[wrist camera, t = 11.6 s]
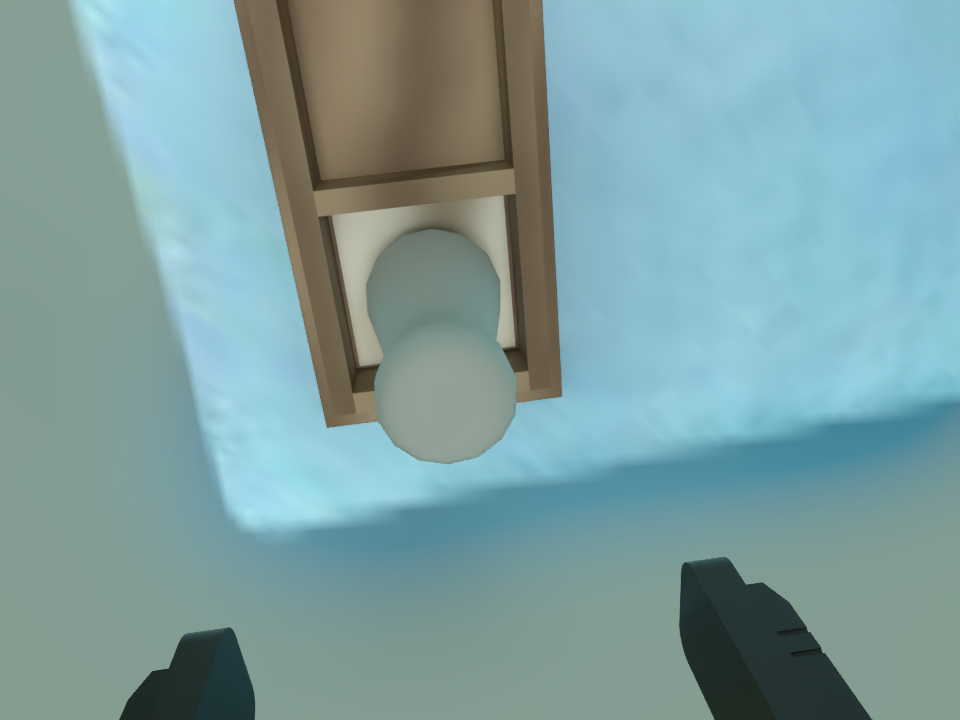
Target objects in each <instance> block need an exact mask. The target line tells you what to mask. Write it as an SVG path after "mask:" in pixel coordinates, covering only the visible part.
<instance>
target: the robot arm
mask: <svg viewBox="0 0 960 720" xmlns="http://www.w3.org/2000/svg"><path fill="white" fill-rule="evenodd" d="M680 594H681V595H680V620H679V622H680V623H679V628H680V636H681V641H682V646H683V649H684V653H685V656H686V659H687V661H688V664H689V666H690V668H691V670H692V672H693V674H694V676H695V679H696V681H697V683H698V685H699V687H700V689H701V691H702V694H703V696H704V698H705V700H706V702H707V704H708V706H709V709H710V711H711V713H712V715H713V717H714V719H715V720H872V719H871V718H870V716H869V715H868V713H867V712H866V711H865V709H864V708H863V706H862V705H861V704H860V702H859V701H858V699H857V698H856V696H855V695H854V694H853V692H852V691H851V689H850V688H849V686H848V685H847V684H846V682H845V681H844V679H843V678H842V677H841V675H840V674H839V672H838V671H837V669H836V668H835V667H834V666H833V664H832V662H831V661H830V660H829V658H828V657H827V655H826V654H825V653H822V650H821V647H820V645H819V644H818V643H817V641H816V640H815V638H814V637H813V635H812V634H811V633H810V632H808V631H807V627H806V626H805V624H804V623H803V621H802V620H801V619H800V617H799V616H798V614H797V613H796V612H795V610H794V609H793V607H792V606H791V604H790V603H789V602H788V601H787V600H785V599H784V598H782V597H781V596H780V595H779V594H777V593H776V592H775V591H773V590H772V589H770V588H769V587H768V586H766V585H765V584H764V583H755V584H748V585H746V584H745V583H744V581H743V580H742V578H741V576H740V575H739V573H738V572H737V570H736V569H735V567H734V566H733V564H732V563H731V562H730V561H729V559H728V558H726V557H720V558H713V559H706V560H699V561H692V562H685V563H684V564H683V565H682V569H681V593H680ZM119 720H255V697H254V691H253V687H252V683H251V680H250V678H249V674H248V671H247V668H246V666H245V663H244V659H243V656H242V653H241V650H240V648H239V644H238V641H237V638H236V635H235V633H234V631H233V630H232V629H231V628H222V629H215V630H208V631H201V632H194V633H188V634H185V635H184V636H183V637H182V638H181V640H180V642H179V644H178V647H177V649H176V652H175V654H174V657H173V659H172V662H171V665H170V667H169V669H163V670H157V671H152V672H151V673H150V675H149V676H148V677H147V678H146V679H145V680H144V682H143V683H142V684H141V685H140V686H139V687H138V689H137V690H136V691H135V692H134V693H133V695H132V696H131V697H130V698H129V699H128V701H127V703H126V706H125V708H124V710H123V713H122V715H121V717H120V719H119Z"/></svg>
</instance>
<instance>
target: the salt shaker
mask: <svg viewBox="0 0 960 720" xmlns="http://www.w3.org/2000/svg"><path fill="white" fill-rule="evenodd" d="M366 296H367V313H368V316H369V319H370V321H371V324H372V327H373V329H374V332H375V334H376V337H377V339H378V342H379V344H380V347H381V349H382V352H383V354H384V357H383V359H382V362H381V364H380V366H379V368H378V371H377V373H376V377H375V381H374V389H375V407H376V414H377V418H378V421H379V423H380V424H381V426H382V427H383V429H384V430H385V432H386V433H387V435H388V436H389V438H390V439H391V441H392V442H393V444H394V445H395V446H397V447H398V448H400V449H402V450H403V451H405V452H406V453H408V454H410V455H411V456H413V457H414V458H416V459H418V460H421V461H429V462H436V463H444V464H451V463H455V462H459V461H464V460H468V459H472V458H476V457H479V456H480V455H481V454H483V453H484V452H485V451H487V450H488V449H489V448H490V447H492V446H493V445H494V444H496V443H497V442H498V441H500V440H501V439H502V437H503V435H504V434H505V432H506V430H507V428H508V427H509V425H510V423H511V421H512V420H513V418H514V416H515V407H516V376H515V374H514V372H513V370H512V368H511V366H510V364H509V362H508V360H507V357H506V355H505V353H504V351H503V349H502V347H501V345H500V343H499V342H497V341H496V340H497V332H498V324H499V317H500V279H499V277H498V274H497V272H496V270H495V268H494V266H493V264H492V262H491V260H490V258H489V256H488V254H487V253H486V252H484V251H483V250H482V249H480V248H479V247H478V246H476V245H475V244H474V243H473V242H471V241H470V240H469V239H467V238H466V237H465V236H463V235H462V234H459V233H454V232H449V231H444V230H439V229H434V228H430V229H426V230H422V231H418V232H414V233H410V234H406V235H402V236H401V237H400V238H399V239H397V240H396V241H395V242H394V243H393V244H391V245H390V246H389V247H388V248H387V249H385V250H384V251H383V252H382V253H381V254H379V256H378V257H377V259H376V261H375V264H374V266H373V269H372V271H371V273H370V276H369V278H368V281H367V283H366Z"/></svg>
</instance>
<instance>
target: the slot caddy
mask: <svg viewBox="0 0 960 720" xmlns="http://www.w3.org/2000/svg"><path fill="white" fill-rule="evenodd" d="M234 4H235V8H236V13H237V18H238V22H239V27H240V31H241V36H242V40H243V45H244V50H245V54H246V59H247V63H248V68H249V73H250V77H251V82H252V86H253V91H254V95H255V100H256V105H257V109H258V114H259V118H260V123H261V128H262V132H263V137H264V141H265V146H266V150H267V155H268V160H269V164H270V169H271V173H272V178H273V182H274V187H275V192H276V196H277V201H278V205H279V210H280V215H281V219H282V224H283V228H284V233H285V237H286V242H287V247H288V251H289V256H290V260H291V265H292V270H293V274H294V279H295V283H296V288H297V292H298V297H299V302H300V306H301V311H302V315H303V320H304V325H305V329H306V334H307V338H308V343H309V347H310V352H311V357H312V361H313V366H314V370H315V375H316V380H317V384H318V389H319V393H320V398H321V402H322V407H323V412H324V416H325V421H326V425H327V428H329V427H337V426H344V425H352V424H359V423H367V422H374V421H378V418H377V414H376V407H375V389H374V381H375V377H376V373H377V371H378V368H379V366H380V364H381V362H382V359H383V357H384V354H383V352H382V349H381V347H380V344H379V342H378V339H377V337H376V334H375V332H374V329H373V327H372V324H371V321H370V319H369V316H368V313H367V296H366V283H367V281H368V278H369V276H370V273H371V271H372V269H373V266H374V264H375V261H376V259H377V257H378V256H379V254H381V253H382V252H383V251H384V250H385V249H387V248H388V247H389V246H390V245H391V244H393V243H394V242H395V241H396V240H397V239H399V238H400V237H401V236H402V235H406V234H410V233H414V232H418V231H422V230H426V229H430V228H434V229H439V230H444V231H449V232H454V233H459V234H462V235H463V236H465V237H466V238H467V239H469V240H470V241H471V242H473V243H474V244H475V245H476V246H478V247H479V248H480V249H482V250H483V251H484V252H486V253H487V254H488V256H489V258H490V260H491V262H492V264H493V266H494V268H495V270H496V272H497V274H498V277H499V279H500V317H499V324H498V332H497V340H496V341H497V342H499V343H500V345H501V347H502V349H503V351H504V353H505V355H506V357H507V360H508V362H509V364H510V366H511V368H512V370H513V372H514V374H515V376H516V403H517V402H525V401H533V400H540V399H548V398H555V397H562V388H561V368H560V348H559V328H558V308H557V288H556V268H555V248H554V228H553V208H552V188H551V168H550V148H549V128H548V108H547V88H546V68H545V49H544V29H543V9H542V0H234Z"/></svg>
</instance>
